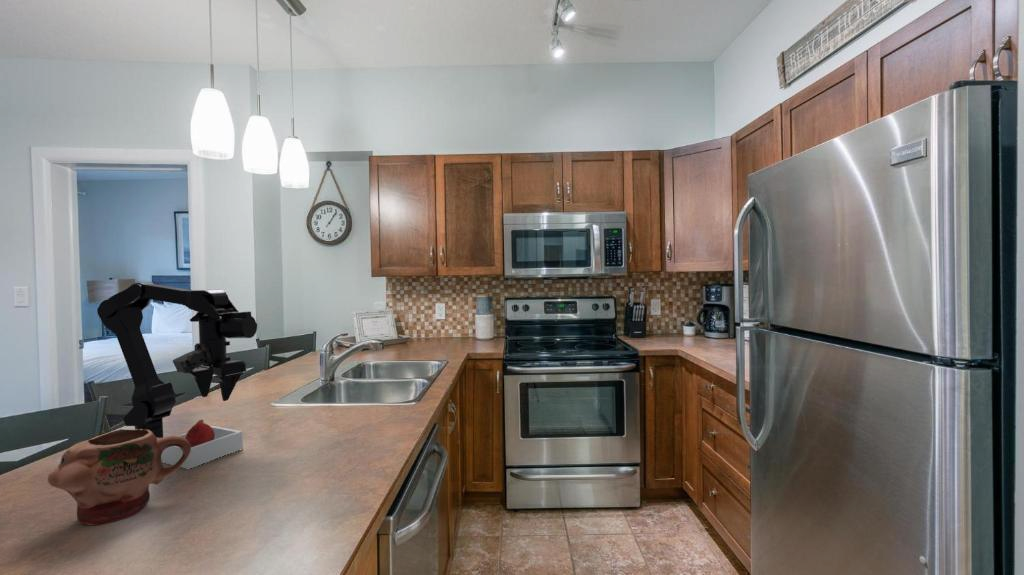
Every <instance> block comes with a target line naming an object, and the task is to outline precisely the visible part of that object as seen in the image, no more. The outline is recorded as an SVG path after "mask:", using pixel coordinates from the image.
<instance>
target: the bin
mask: <svg viewBox="0 0 1024 575" xmlns="http://www.w3.org/2000/svg"><path fill="white" fill-rule="evenodd" d="M209 426H210V427H211V428H212V429H213V430H214V434H215V437H214V440H212V441H209V442H206V443H203V444H200V445H197V446H194V447H191V451H190V454H189V456H188V458H187V459H186V460H185V461H184V462H183V464H182V465H181V466H180V467H183V468H182V469H184V468H186V469H185V470H188V469H189V470H191V469H190V468H192V469H194V468H193V467H195V468H197V467H199V466H198V465H200V466H202V465H201V464H203V463H205V464H207V463H206V462H208V461H211V460H213V461H215V460H214V459H216V458H218V459H220V458H219V457H221V458H223V457H222V456H224V455H226V456H228V455H227V454H229V455H231V454H230V453H232V452H234V453H236V452H235V451H237V452H239V451H238V450H240V449H242V450H244V443H243V441H244V440H243V437H244V436H243V431H242V430H237V429H231V428H226V427H221V426H216V425H215V426H214V425H209ZM187 433H188V432H184V433H182V434H179V435H177V436H180V437H183V438H186V435H187ZM240 451H241V450H240ZM232 454H233V453H232ZM182 455H183V451H182V450H181V448H179V447H177V446H171V447H168V448H166V449H165V450H164V451H163V452H162V455H161V461H162V464H165V463H166V464H165V465H169V464H170V466H173V465H175V464H176V463H177V462H178V461H179V460H180V458H181V457H182ZM224 457H225V456H224ZM216 460H217V459H216ZM211 462H212V461H211ZM208 463H209V462H208ZM203 465H204V464H203ZM196 466H197V467H196ZM180 467H179V468H180Z"/></svg>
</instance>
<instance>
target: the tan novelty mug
mask: <svg viewBox="0 0 1024 575" xmlns="http://www.w3.org/2000/svg"><path fill="white" fill-rule="evenodd" d="M171 446H177V447H179V448H181V450H182V451H183V455H182V457H181V458H180V460H179V461H178V462H177V463H176V464H175V465H170V466H164V465H163V463H162V461H161V455H162V452H163V451H164V450H165V449H166V448H168V447H171ZM190 451H191V445H190V443H189V442H188V440H187V439H185V438H183V437H180V436H178V435H169V436H168V435H167V436H163V438H157V437H156V436H155V435H154V434H153V432H152V431H150V430H144V429H135V428H134V429H133V428H131V429H117V430H113V431H110V432H107V433H104V434H101V435H97V436H94V437H92V438H90V439H86V440H83V441H80V442H77V443H75V444H73V445H72V446H70V447H69V448H68V449H66V451H65V452H64V453H63V455H62V456H61V458H60V459H61V460H60V462H59V464H58V465H57V467H55V468H54V469H53V470H52V471H51V472H50V473H49V474H48V477H47V482H48V483H49V485H50V486H52V487H54V488H57V489H60V490H63V491H65V492H67V493H68V494H69V495H70V496H71V497H72V498H73V499H74V501H75V502H76V504H77V505H76V517H77V518H76V519H77V521H78V522H79V523H80V524H84V525H88V526H89V525H90V526H91V525H93V526H94V525H100V524H107V523H111V522H115V521H119V520H122V519H126V518H129V517H132V516H133V514H134V515H136V514H137V513H139V512H140V511H142V510H143V509H144V508H145V507H146V505H147V504H148V503H149V501H150V497H151V494H150V485H152V484H154V485H160V484H161V483H162V482H163V481H164V480H166V479H167V478H168V477H170V476H172V474H174V473H175V472H176V471H177V470H178V469H179V468H180V466H181V465H182V464H183V462H184V461H185V460H186V459H187V458H188V456H189V454H190Z"/></svg>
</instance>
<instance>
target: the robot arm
mask: <svg viewBox="0 0 1024 575" xmlns="http://www.w3.org/2000/svg"><path fill="white" fill-rule="evenodd" d="M229 298H230V297H229V295H228V294H227V292H226V291H225V290H222V289H200V290H199V289H198V290H195V289H194V290H192V289H187V288H180V287H175V286H169V285H163V284H162V285H161V284H156V283H153V282H135V283H133V284H130V285H129V286H128V287H127V288H126V289H124V290H122V291H119V292H117V293H115V294H113V295H112V296H110V297H109V298H107V299H104V300H103V301H101V302H100V304H99V306H98V307H97V312H96V313H97V315H98V318H99V319H100V321H101V322H102V324H103V326H104V327H105V328H106V329H108V330H110V332H112V333H113V334H114V335H115V336H116V338H117V341H118V345H119V346H120V349H121V352H122V354H123V357H124V361H125V363H126V366H127V368H128V371H129V373H130V375H131V379H132V382H133V385H134V389H133V393H132V396H131V403H132V406H133V407H132V408H131V409H130V410H129V411H128V413H127V414H125V416H123V418H122V420H123V422H124V425H125V427H134V429H144V430H150V431H152V432H153V434H154V435H155V436H156V437H157V438H163V437H164V421H163V418H166V417H171V414H172V410H173V408H174V406H175V404H176V397H177V394H176V392H175V391H174V388H173V384H172V383H171V382H170V381H168V382H164V381H162V380H161V379H160V378H159V376H158V373H157V370H156V368H155V366H154V362H153V360H152V357H151V355H150V353H149V350H148V346H147V343H146V342H145V341H146V340H145V338H144V336H143V333H142V331H141V326H142V323H143V319H144V316H143V310H145V309H146V308H147V307H148V306H149V305H150V303H151V300H152V301H157V302H165V303H169V304H170V303H171V304H175V305H176V304H177V305H182V306H185V307H186V308H187V309H189V310H190V311H191V310H192V311H193V312H196V313H195V315H194V316H192V317H191V318H190V319H189V321H190V322H191V323H192V322H198V340H199V342H198V343H195V345H194V350H191V351H189V352H187V353H184V354H183V355H180V356H177V357H176V358H174V359H172V363H173V365H174V367H175V369H176V371H177V372H178V373H183V374H187V375H189V376H190V377H192V378H194V381H195V383H196V385H197V388H198V390H199V392H200V395H201V397H202V398H206V397H208V396H209V392H210V389H211V386H212V381H213V378H214V379H216V380H217V381H218V382H219V387H220V394H221V398H222V401H223V402H226V401H228V400H229V399H230V397H231V396H232V395H231V394H233V390H234V389H235V387H236V385H237V383H238V381H239V379H240V377H241V376H242V375H244V373H245V372H247V370H248V369H247V363H246V362H245V361H243V360H238V359H232V360H231V356H228V355H227V354H228V353H227V346H231V341H229V340H227V339H251V338H253V337H254V336H255V335H256V333H257V330H258V323H257V321H256V319H255V318H254V316H252V311H242V312H239V310H238V309H237V308H236V307H235V305H234V304H233V302H232V301H231V299H229Z"/></svg>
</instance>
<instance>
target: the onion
mask: <svg viewBox="0 0 1024 575" xmlns="http://www.w3.org/2000/svg"><path fill="white" fill-rule="evenodd" d="M210 426H211V425H209V424H207V423H204V419H203V418H201V419H199V420H198V421H197V422H196V423H195V424H194V425H192V426H191V427H190V428H189V430H188V431H187V432H186V433H187V435H186V438H185V439H187V440H188V442H189V443H190V445H191V447H194V446H197V445H200V444H203V443H206V442H209V441H212V440H214V437H215V434H214V430H213V429H212V428H211V427H210Z"/></svg>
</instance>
